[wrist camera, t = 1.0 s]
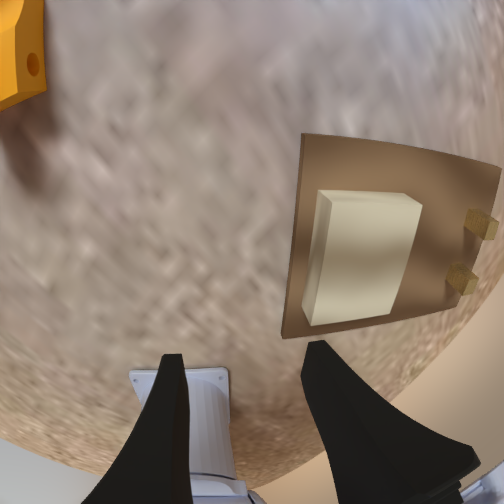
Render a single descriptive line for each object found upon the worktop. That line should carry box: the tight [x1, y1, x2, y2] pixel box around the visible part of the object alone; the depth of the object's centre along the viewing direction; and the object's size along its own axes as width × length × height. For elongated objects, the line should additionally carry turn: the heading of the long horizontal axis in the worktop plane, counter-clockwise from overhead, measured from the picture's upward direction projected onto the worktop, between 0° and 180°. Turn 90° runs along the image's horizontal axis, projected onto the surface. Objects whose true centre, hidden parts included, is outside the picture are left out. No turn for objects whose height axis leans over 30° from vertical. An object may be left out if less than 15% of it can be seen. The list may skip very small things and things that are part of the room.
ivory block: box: [302, 190, 423, 326], centre depth 17 cm, size 8×6×2 cm
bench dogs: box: [445, 208, 499, 296], centre depth 19 cm, size 6×2×2 cm, turn 178°
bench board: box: [281, 133, 502, 339], centre depth 19 cm, size 14×18×1 cm
